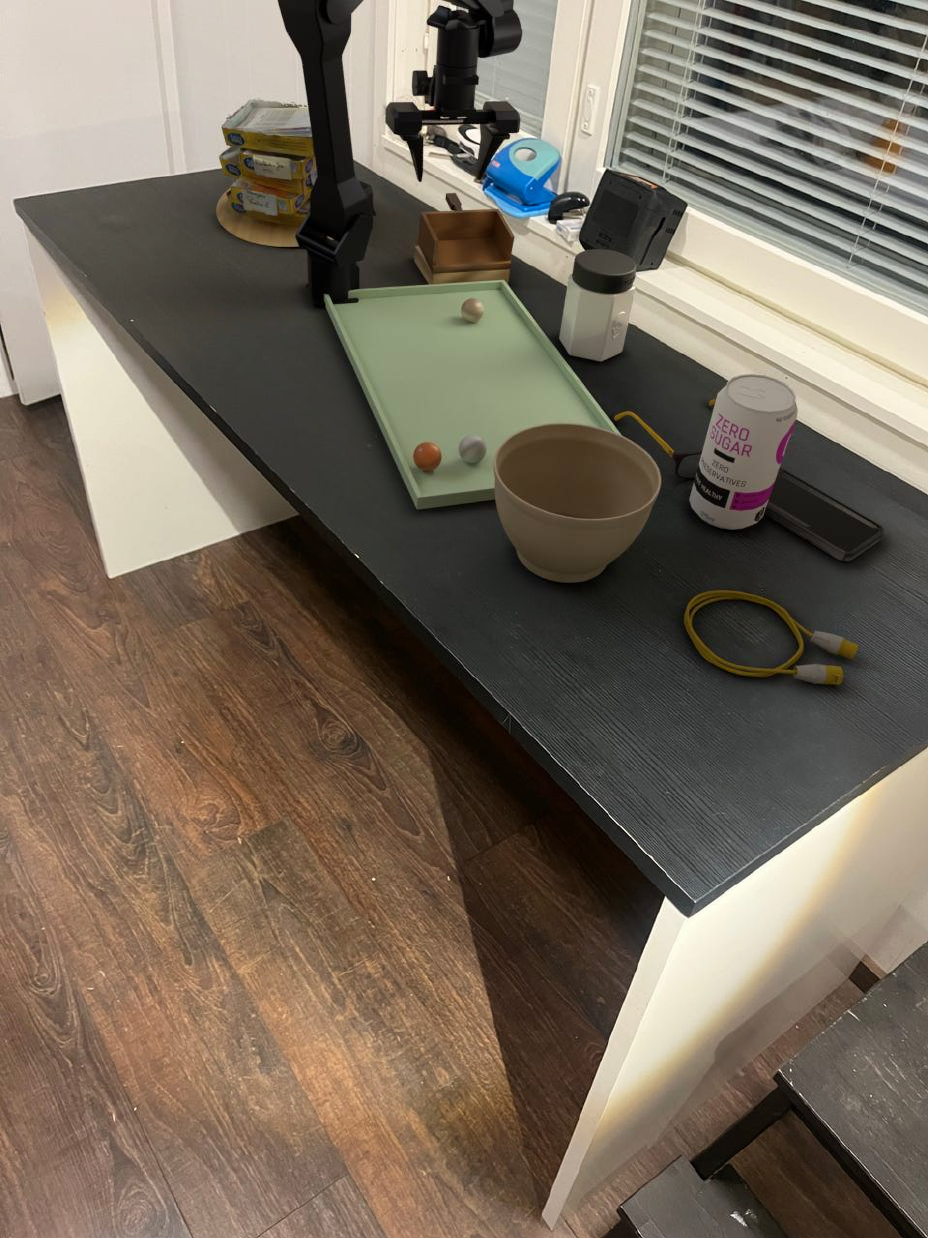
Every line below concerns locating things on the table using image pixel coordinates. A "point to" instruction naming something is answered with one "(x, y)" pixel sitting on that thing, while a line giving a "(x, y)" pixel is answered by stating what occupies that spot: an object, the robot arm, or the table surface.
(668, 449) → the eyeglasses
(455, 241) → the wooden ball box
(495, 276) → the stand
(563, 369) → the tray
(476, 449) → the ball
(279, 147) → the stacked yellow boxes
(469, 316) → the ball
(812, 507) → the phone
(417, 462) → the ball
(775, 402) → the supplement can
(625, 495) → the planter bowl
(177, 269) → the table surface
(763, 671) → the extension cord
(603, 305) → the jar
